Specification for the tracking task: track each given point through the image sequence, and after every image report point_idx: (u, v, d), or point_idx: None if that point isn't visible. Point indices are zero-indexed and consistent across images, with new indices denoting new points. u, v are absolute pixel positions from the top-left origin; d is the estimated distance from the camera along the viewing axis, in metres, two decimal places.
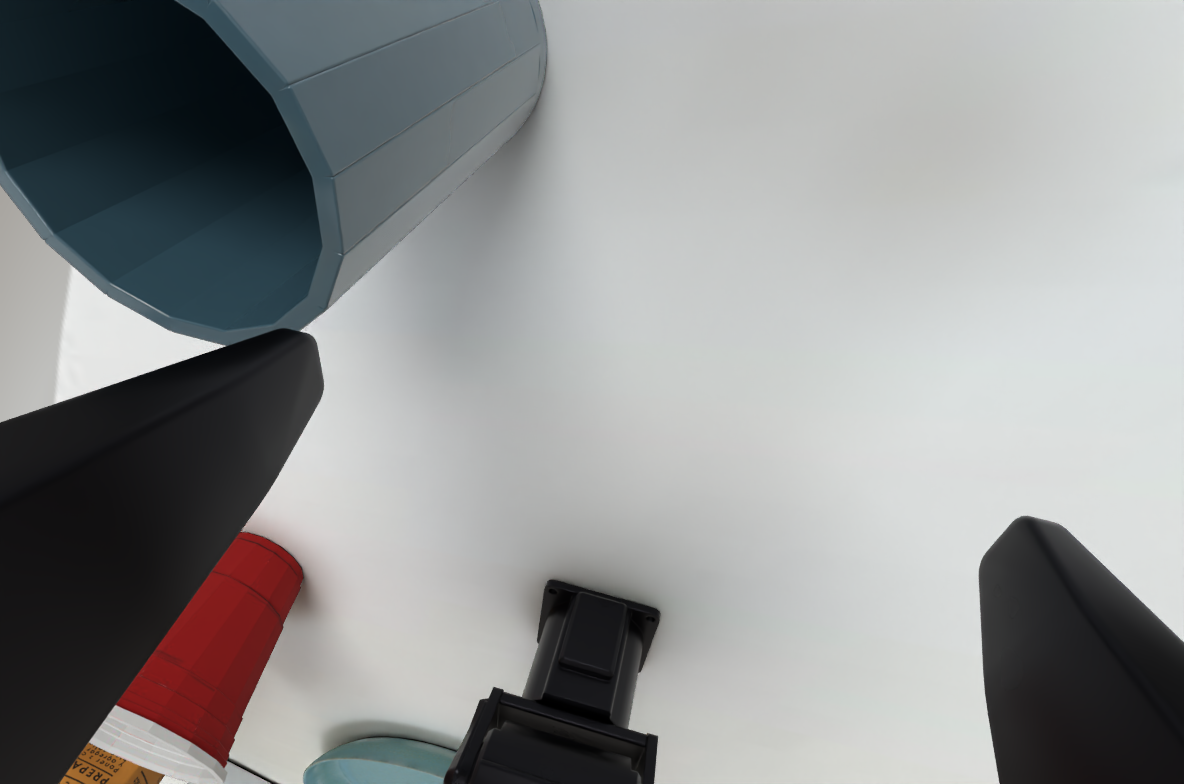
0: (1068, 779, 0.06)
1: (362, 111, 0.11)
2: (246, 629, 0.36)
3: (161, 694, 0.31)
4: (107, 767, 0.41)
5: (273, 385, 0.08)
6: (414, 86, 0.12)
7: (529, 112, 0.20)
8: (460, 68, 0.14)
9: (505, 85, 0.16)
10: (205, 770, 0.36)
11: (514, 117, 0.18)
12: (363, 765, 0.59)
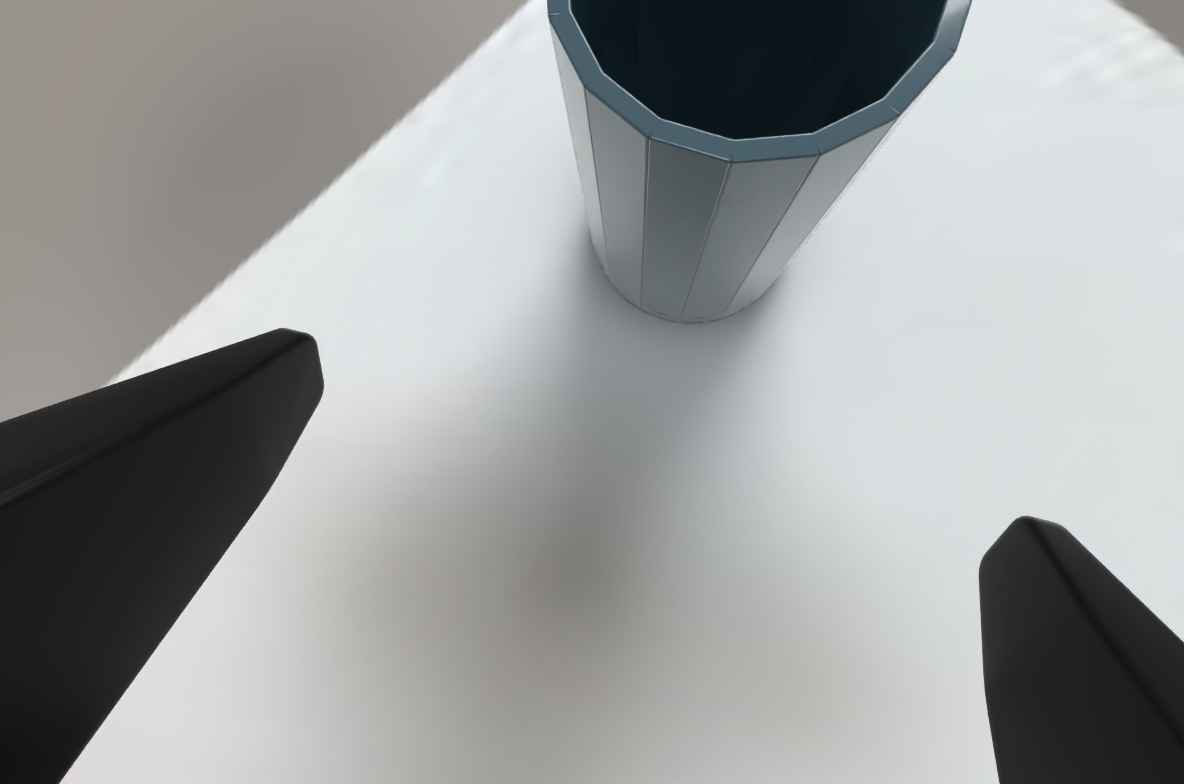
0: (1068, 779, 0.06)
1: None
2: None
3: None
4: None
5: (273, 385, 0.08)
6: None
7: (767, 289, 0.21)
8: None
9: None
10: None
11: (793, 257, 0.19)
12: None
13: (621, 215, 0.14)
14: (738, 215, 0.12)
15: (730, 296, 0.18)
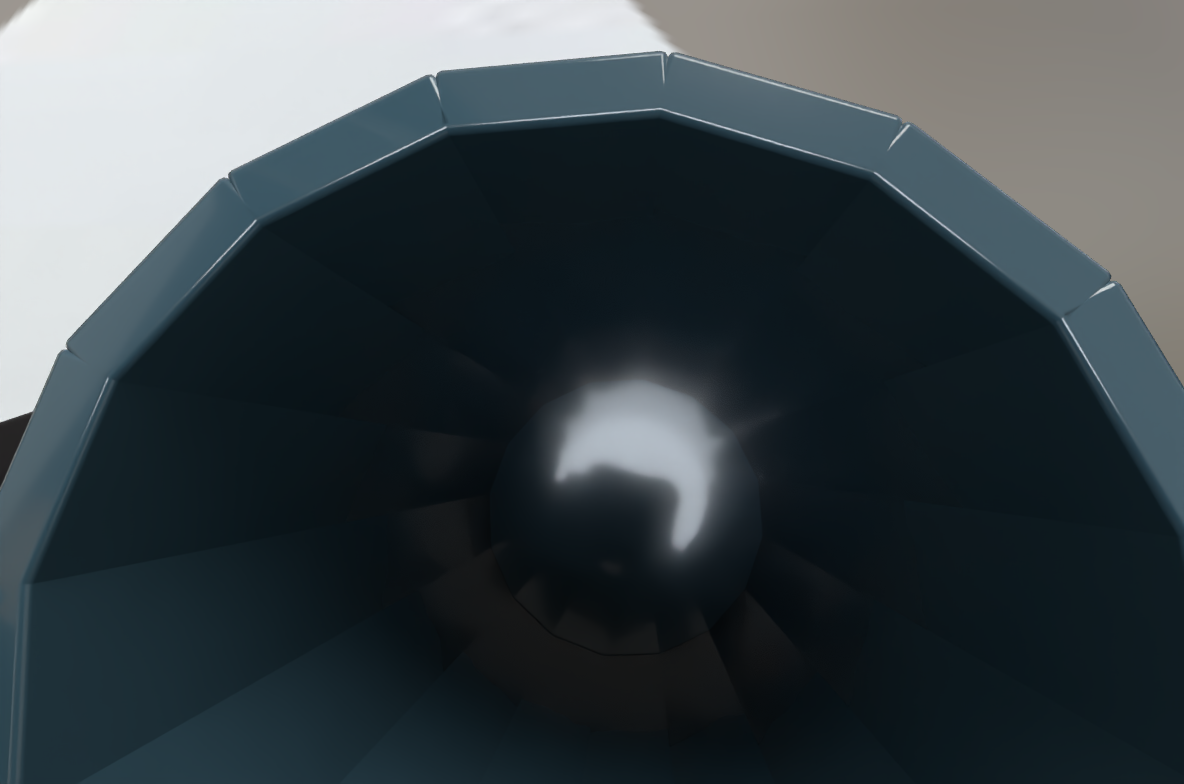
0: None
1: None
2: None
3: None
4: None
5: None
6: None
7: None
8: None
9: None
10: None
11: None
12: None
13: None
14: None
15: None
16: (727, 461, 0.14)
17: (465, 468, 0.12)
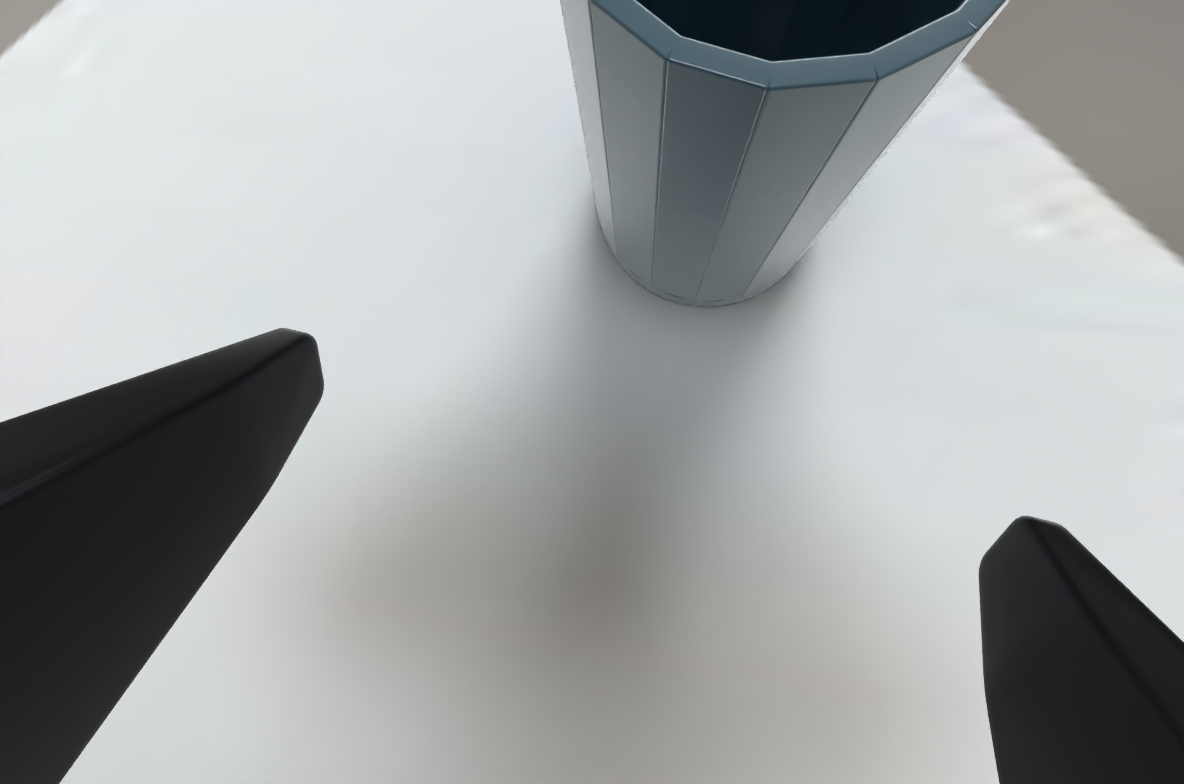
0: (1068, 779, 0.06)
1: None
2: None
3: None
4: None
5: (273, 385, 0.08)
6: None
7: (789, 270, 0.20)
8: None
9: None
10: None
11: (821, 232, 0.17)
12: None
13: (631, 174, 0.13)
14: (769, 166, 0.10)
15: (751, 274, 0.17)
16: None
17: None
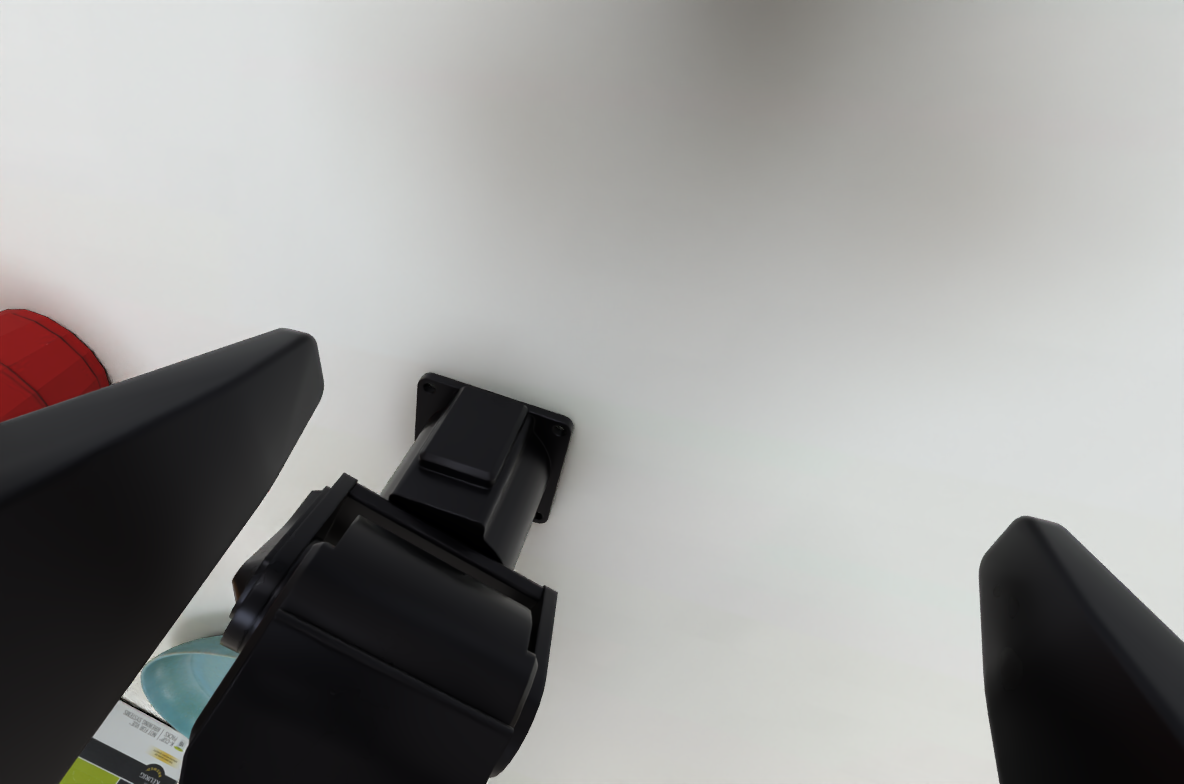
0: (1068, 779, 0.06)
1: None
2: None
3: None
4: None
5: (273, 385, 0.08)
6: None
7: None
8: None
9: None
10: None
11: None
12: (220, 673, 0.49)
13: None
14: None
15: None
16: None
17: None
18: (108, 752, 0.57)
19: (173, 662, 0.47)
